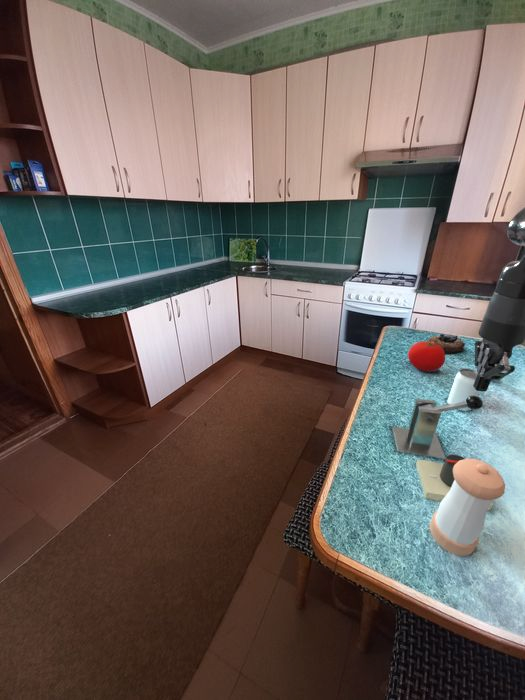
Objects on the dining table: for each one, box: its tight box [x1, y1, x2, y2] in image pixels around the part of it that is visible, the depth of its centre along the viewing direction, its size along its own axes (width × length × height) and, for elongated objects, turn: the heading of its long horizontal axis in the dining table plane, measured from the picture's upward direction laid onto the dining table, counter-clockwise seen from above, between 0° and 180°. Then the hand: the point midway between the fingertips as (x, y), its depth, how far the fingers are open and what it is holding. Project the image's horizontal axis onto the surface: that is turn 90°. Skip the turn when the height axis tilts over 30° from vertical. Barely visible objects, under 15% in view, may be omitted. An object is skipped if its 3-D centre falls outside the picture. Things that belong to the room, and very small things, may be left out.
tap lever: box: [418, 395, 484, 413], centre depth 69 cm, size 13×3×3 cm, turn 75°
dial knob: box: [440, 454, 466, 487], centre depth 61 cm, size 5×5×5 cm
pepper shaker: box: [429, 458, 506, 557], centre depth 50 cm, size 7×7×19 cm
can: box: [446, 368, 480, 412], centre depth 87 cm, size 6×6×12 cm
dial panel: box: [415, 458, 494, 512], centre depth 63 cm, size 12×9×3 cm
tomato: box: [407, 340, 446, 372], centre depth 108 cm, size 11×12×10 cm
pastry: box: [427, 333, 466, 355], centre depth 123 cm, size 11×12×6 cm
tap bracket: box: [392, 398, 447, 460], centre depth 73 cm, size 11×9×13 cm
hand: (479, 389), depth 65 cm, fingers closed
